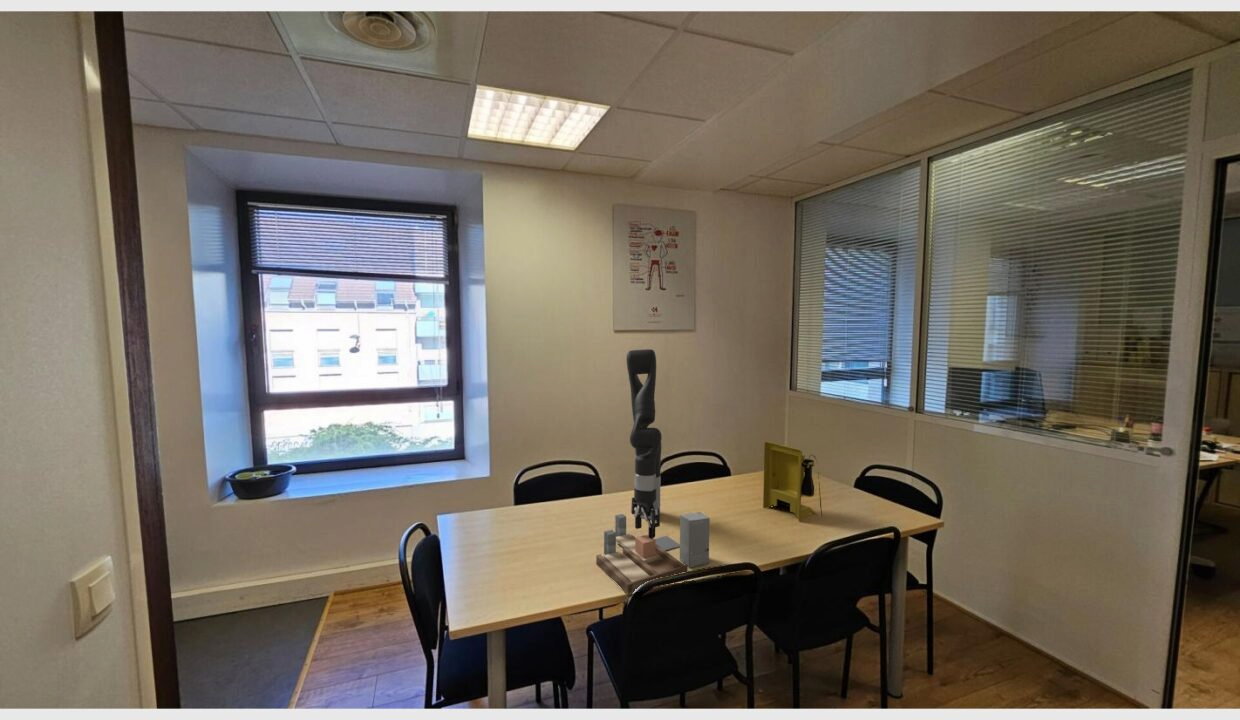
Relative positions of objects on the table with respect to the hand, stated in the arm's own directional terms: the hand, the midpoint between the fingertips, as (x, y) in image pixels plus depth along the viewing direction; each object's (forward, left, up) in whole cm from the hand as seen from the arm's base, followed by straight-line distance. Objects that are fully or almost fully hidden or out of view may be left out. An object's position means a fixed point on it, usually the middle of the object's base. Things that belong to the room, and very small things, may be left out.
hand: (644, 532), depth 155 cm
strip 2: (+3, -10, -8) cm, 13 cm away
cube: (0, 0, -7) cm, 7 cm away
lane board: (+5, -5, -10) cm, 12 cm away
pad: (-6, +12, -10) cm, 17 cm away
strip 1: (-7, 0, -8) cm, 11 cm away
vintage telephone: (-3, +78, -10) cm, 79 cm away
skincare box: (+9, +14, -10) cm, 19 cm away
